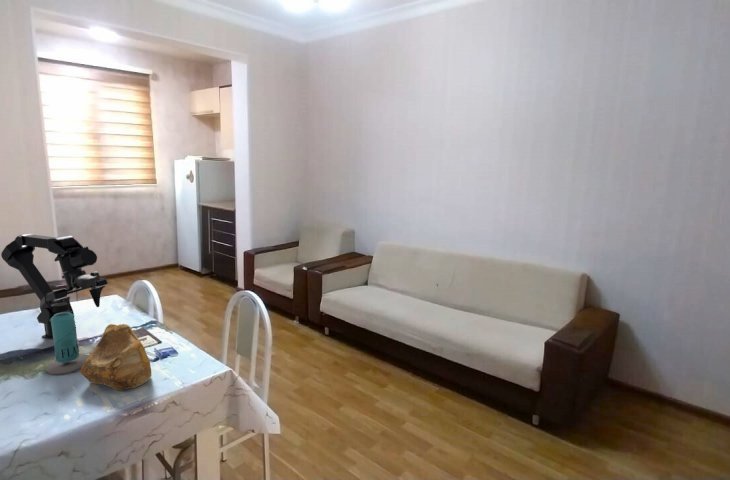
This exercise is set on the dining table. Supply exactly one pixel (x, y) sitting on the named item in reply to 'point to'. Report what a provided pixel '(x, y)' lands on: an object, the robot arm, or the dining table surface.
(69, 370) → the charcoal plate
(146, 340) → the chocolate bar
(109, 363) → the rough brown rock
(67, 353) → the beverage bottle
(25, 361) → the dining table surface
